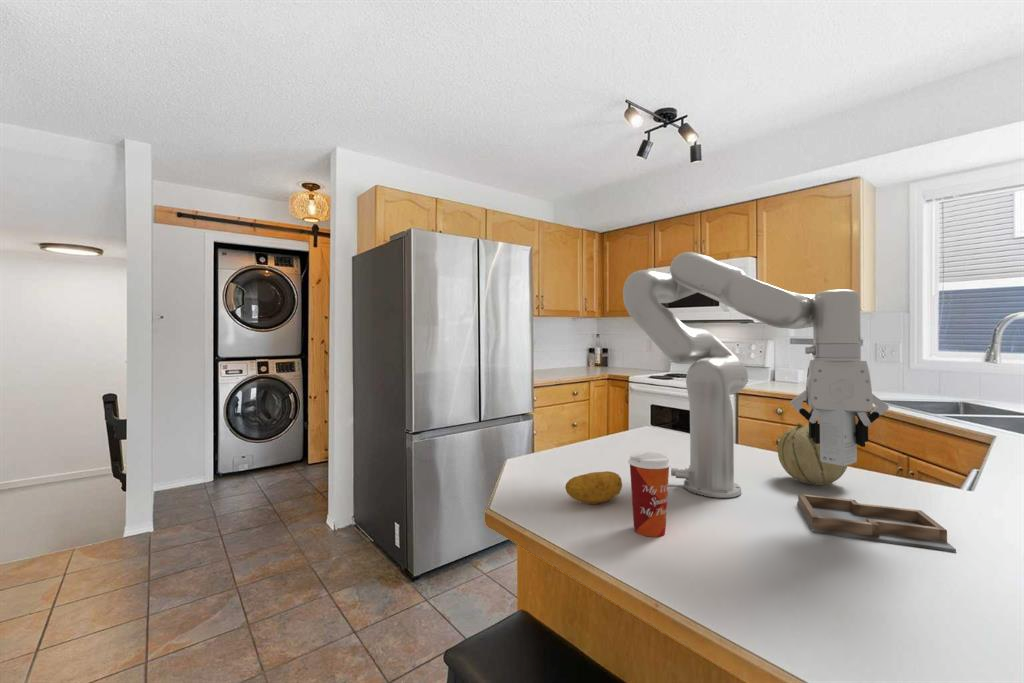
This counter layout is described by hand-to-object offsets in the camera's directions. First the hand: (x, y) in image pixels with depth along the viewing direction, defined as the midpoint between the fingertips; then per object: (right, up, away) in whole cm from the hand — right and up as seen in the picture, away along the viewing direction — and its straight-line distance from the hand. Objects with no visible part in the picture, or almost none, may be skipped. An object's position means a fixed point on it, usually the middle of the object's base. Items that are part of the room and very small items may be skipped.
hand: (837, 443), depth 87 cm
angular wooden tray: (+4, -15, -2) cm, 16 cm away
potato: (-46, -16, +11) cm, 50 cm away
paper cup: (-38, -16, -4) cm, 42 cm away
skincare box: (0, -4, 0) cm, 4 cm away
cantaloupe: (+11, -16, +24) cm, 30 cm away
